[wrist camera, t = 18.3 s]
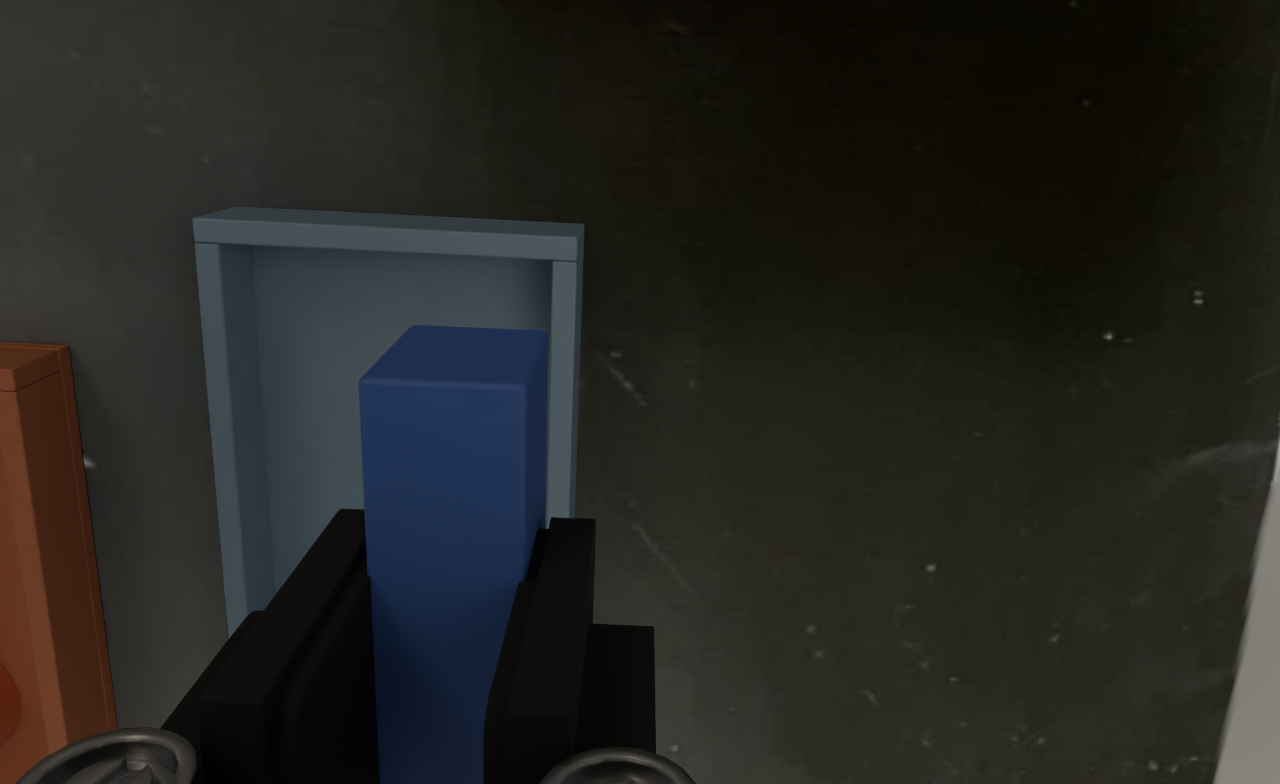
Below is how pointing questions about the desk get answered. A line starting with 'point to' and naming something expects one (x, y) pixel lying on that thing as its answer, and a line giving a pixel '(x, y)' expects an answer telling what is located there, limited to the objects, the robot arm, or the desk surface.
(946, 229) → the desk surface
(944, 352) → the desk surface
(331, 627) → the robot arm
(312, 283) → the blue tray
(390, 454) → the blue spoon
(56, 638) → the terracotta tray
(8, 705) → the terracotta spoon
